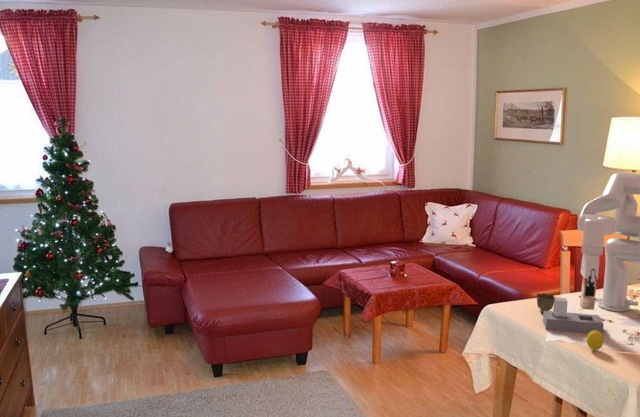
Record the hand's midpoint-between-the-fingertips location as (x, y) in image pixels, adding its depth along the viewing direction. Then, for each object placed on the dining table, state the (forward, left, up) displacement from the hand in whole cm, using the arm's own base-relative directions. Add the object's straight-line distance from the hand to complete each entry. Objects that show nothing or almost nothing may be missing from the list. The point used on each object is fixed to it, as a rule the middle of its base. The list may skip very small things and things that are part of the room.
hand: (588, 293), depth 233 cm
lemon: (+1, +21, -16) cm, 26 cm away
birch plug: (0, 0, -6) cm, 6 cm away
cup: (+14, -17, -16) cm, 27 cm away
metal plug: (+10, 0, -15) cm, 18 cm away
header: (+5, 0, -15) cm, 16 cm away
